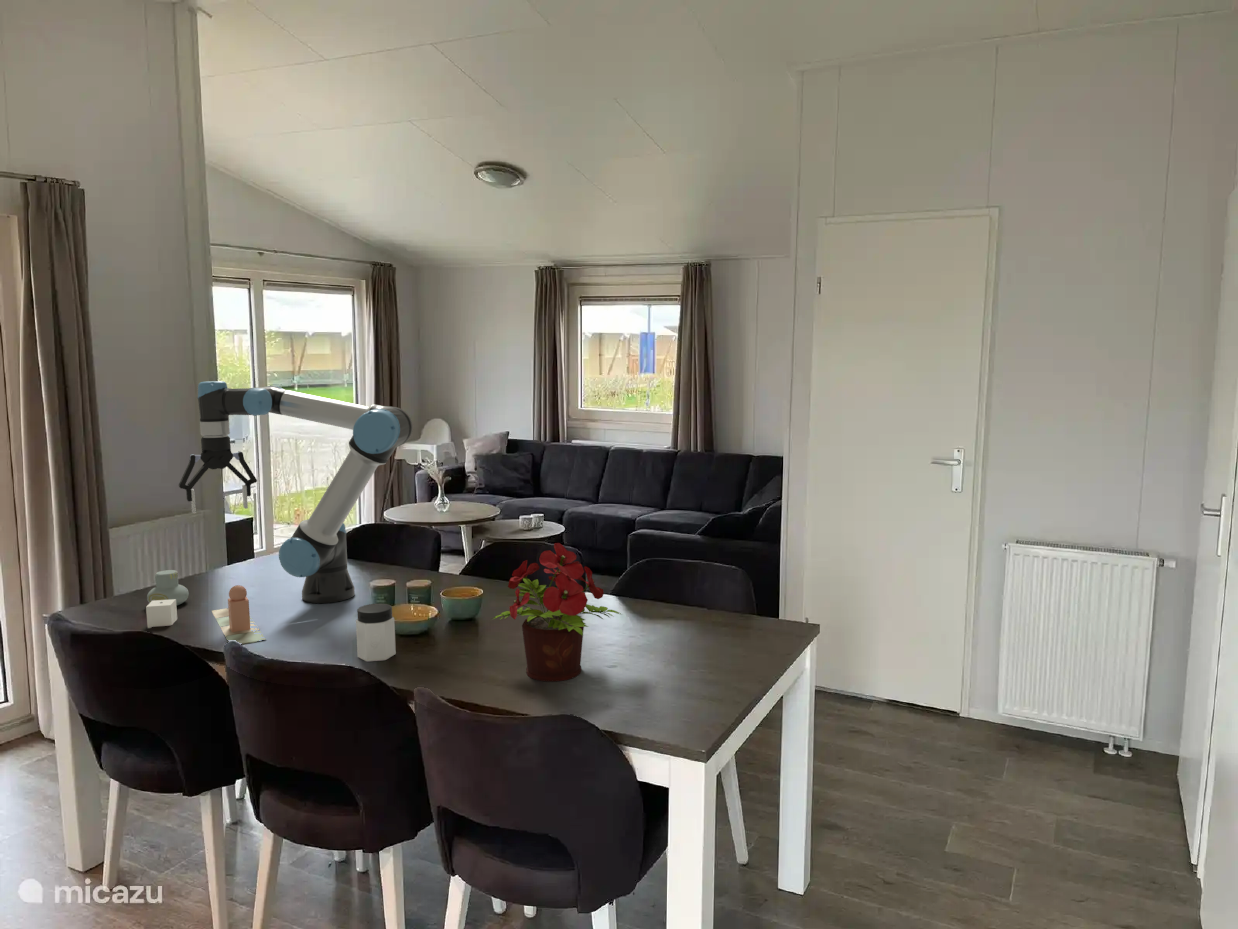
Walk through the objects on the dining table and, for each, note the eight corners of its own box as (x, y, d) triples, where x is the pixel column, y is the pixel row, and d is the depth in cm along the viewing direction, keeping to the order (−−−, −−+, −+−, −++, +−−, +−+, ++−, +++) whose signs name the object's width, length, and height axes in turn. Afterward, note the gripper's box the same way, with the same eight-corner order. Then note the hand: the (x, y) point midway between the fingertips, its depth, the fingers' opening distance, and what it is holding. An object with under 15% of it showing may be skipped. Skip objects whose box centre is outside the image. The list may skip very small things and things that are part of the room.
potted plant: (518, 699, 189) (515, 561, 185) (484, 659, 214) (481, 536, 210) (644, 678, 201) (643, 548, 197) (598, 642, 225) (597, 526, 221)
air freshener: (194, 602, 264) (192, 569, 263) (176, 610, 256) (173, 576, 255) (161, 600, 266) (159, 568, 264) (142, 608, 258) (139, 575, 256)
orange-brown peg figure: (247, 625, 241) (245, 582, 239) (250, 629, 237) (247, 586, 235) (229, 627, 238) (226, 584, 237) (232, 632, 235) (229, 588, 233)
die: (177, 620, 247) (175, 598, 246) (171, 626, 241) (170, 604, 240) (153, 621, 245) (151, 600, 245) (146, 628, 240) (145, 606, 239)
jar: (356, 663, 212) (354, 614, 210) (358, 652, 220) (356, 604, 218) (395, 660, 214) (393, 611, 212) (396, 649, 222) (394, 602, 220)
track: (243, 607, 259) (243, 606, 259) (266, 640, 229) (266, 639, 229) (211, 611, 254) (211, 610, 254) (230, 646, 224) (230, 645, 224)
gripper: (259, 432, 261) (264, 504, 264) (164, 437, 248) (170, 512, 251) (264, 434, 255) (268, 507, 257) (167, 439, 242) (172, 516, 245)
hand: (220, 510), depth 254 cm, fingers open, 13 cm apart
